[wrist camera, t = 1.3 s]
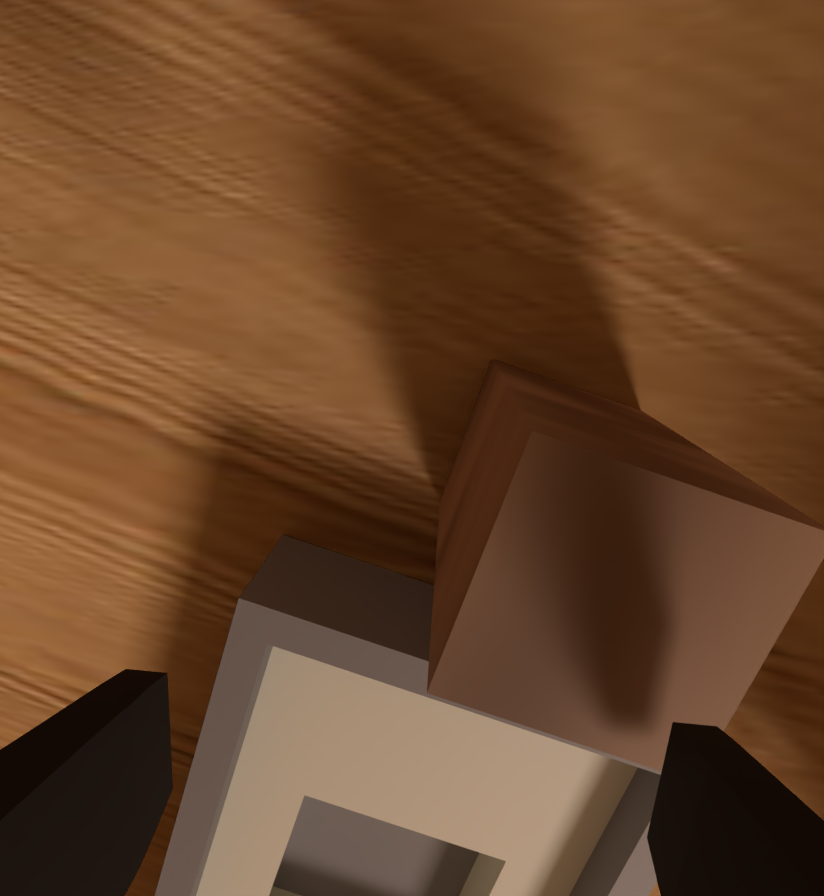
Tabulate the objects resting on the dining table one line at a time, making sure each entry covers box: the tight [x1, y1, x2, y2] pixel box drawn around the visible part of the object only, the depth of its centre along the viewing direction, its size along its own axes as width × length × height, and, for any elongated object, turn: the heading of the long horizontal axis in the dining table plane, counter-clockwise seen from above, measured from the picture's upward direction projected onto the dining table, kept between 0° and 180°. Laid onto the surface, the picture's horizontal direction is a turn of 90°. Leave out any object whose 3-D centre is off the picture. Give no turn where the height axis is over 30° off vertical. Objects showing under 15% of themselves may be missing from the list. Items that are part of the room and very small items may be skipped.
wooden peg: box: [427, 359, 824, 771], centre depth 13 cm, size 4×4×9 cm
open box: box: [155, 535, 662, 896], centre depth 19 cm, size 13×20×4 cm, turn 161°
